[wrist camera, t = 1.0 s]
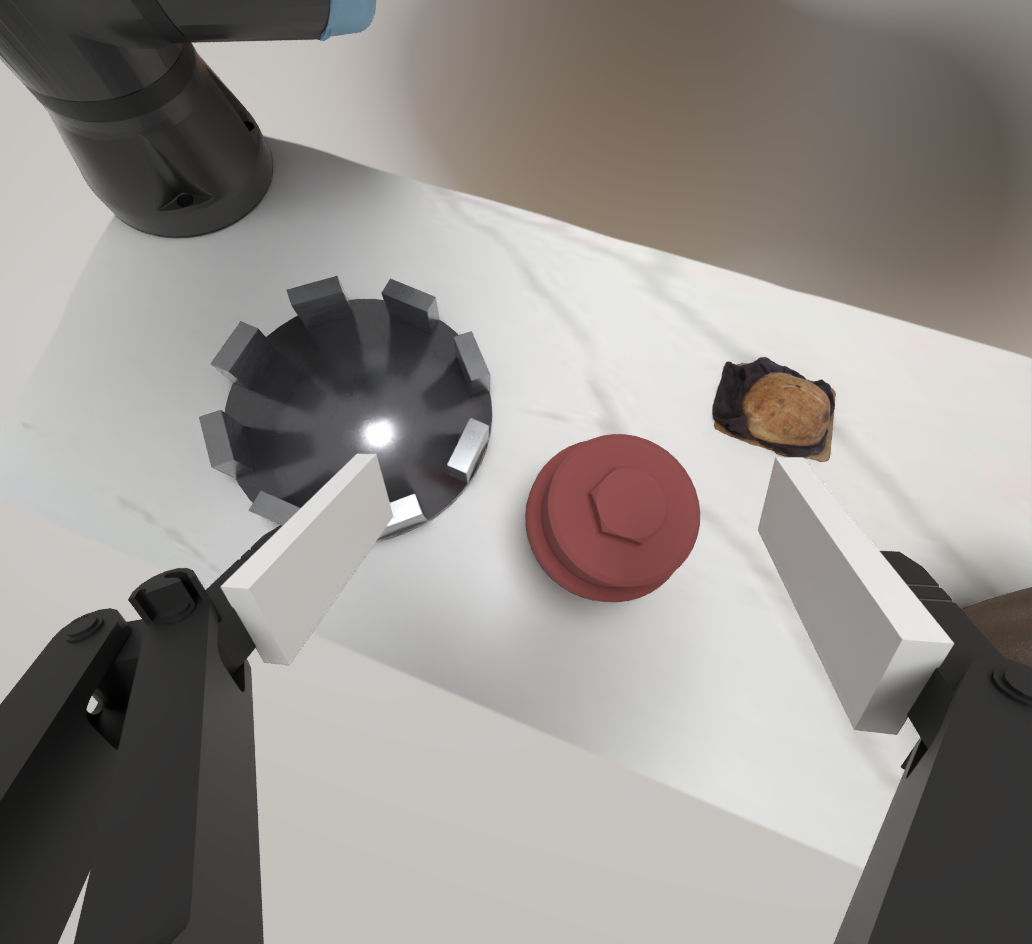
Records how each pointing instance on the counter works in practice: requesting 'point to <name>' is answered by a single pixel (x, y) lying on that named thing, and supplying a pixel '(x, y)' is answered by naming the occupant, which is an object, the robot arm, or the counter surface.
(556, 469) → the mechanical component
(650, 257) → the counter surface
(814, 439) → the bread roll
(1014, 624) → the plant pot
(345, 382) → the castellated collar
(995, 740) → the robot arm
